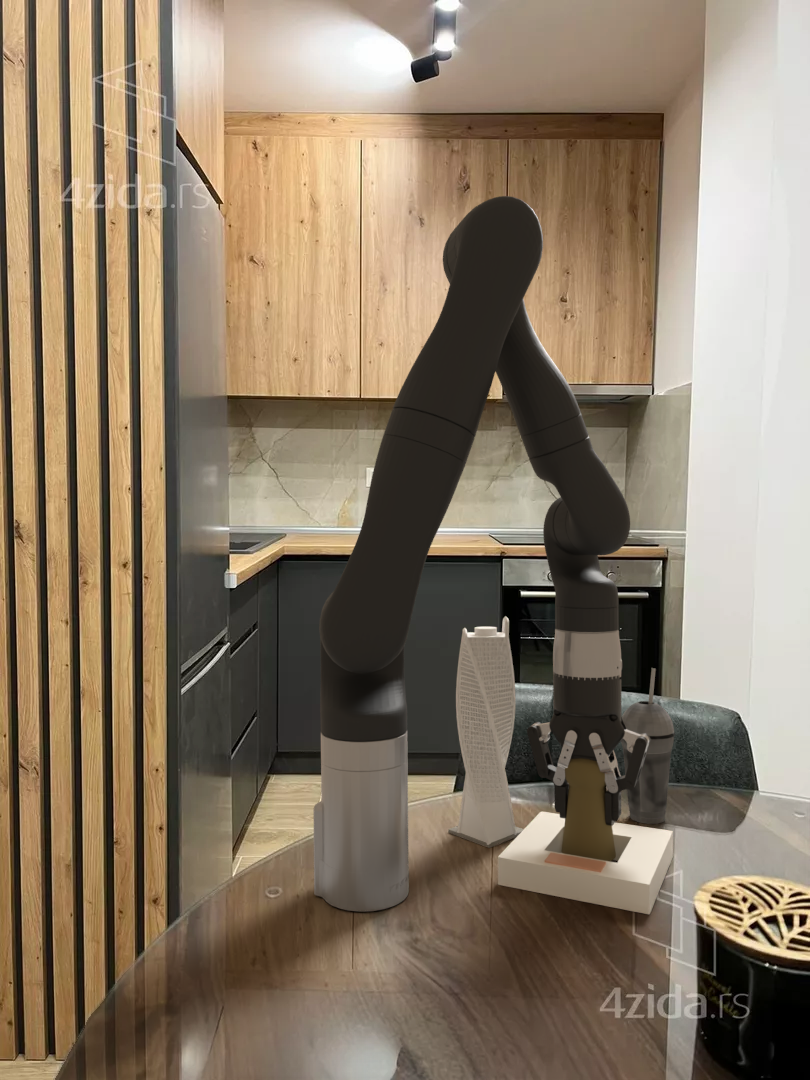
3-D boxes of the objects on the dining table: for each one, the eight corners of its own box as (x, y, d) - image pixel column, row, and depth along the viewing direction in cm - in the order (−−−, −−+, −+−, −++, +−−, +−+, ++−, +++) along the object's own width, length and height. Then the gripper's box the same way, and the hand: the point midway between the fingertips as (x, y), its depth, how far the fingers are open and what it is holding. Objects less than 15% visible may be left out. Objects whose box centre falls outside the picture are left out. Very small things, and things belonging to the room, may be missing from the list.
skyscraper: (534, 836, 100) (532, 614, 100) (492, 853, 95) (489, 619, 95) (485, 819, 107) (483, 610, 107) (442, 834, 101) (440, 614, 101)
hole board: (497, 884, 87) (497, 855, 87) (541, 834, 101) (541, 809, 101) (649, 914, 79) (649, 882, 79) (673, 856, 94) (672, 829, 94)
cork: (617, 865, 87) (616, 764, 87) (561, 861, 88) (559, 762, 88) (614, 844, 92) (613, 750, 92) (561, 841, 94) (560, 748, 94)
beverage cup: (608, 812, 109) (607, 666, 109) (654, 806, 111) (653, 663, 111) (639, 830, 102) (638, 674, 102) (687, 823, 104) (686, 671, 104)
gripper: (515, 669, 90) (516, 821, 90) (646, 679, 83) (647, 841, 84) (535, 660, 97) (536, 801, 97) (657, 668, 90) (658, 819, 90)
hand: (587, 819), depth 90 cm, fingers closed on cork, 4 cm apart
